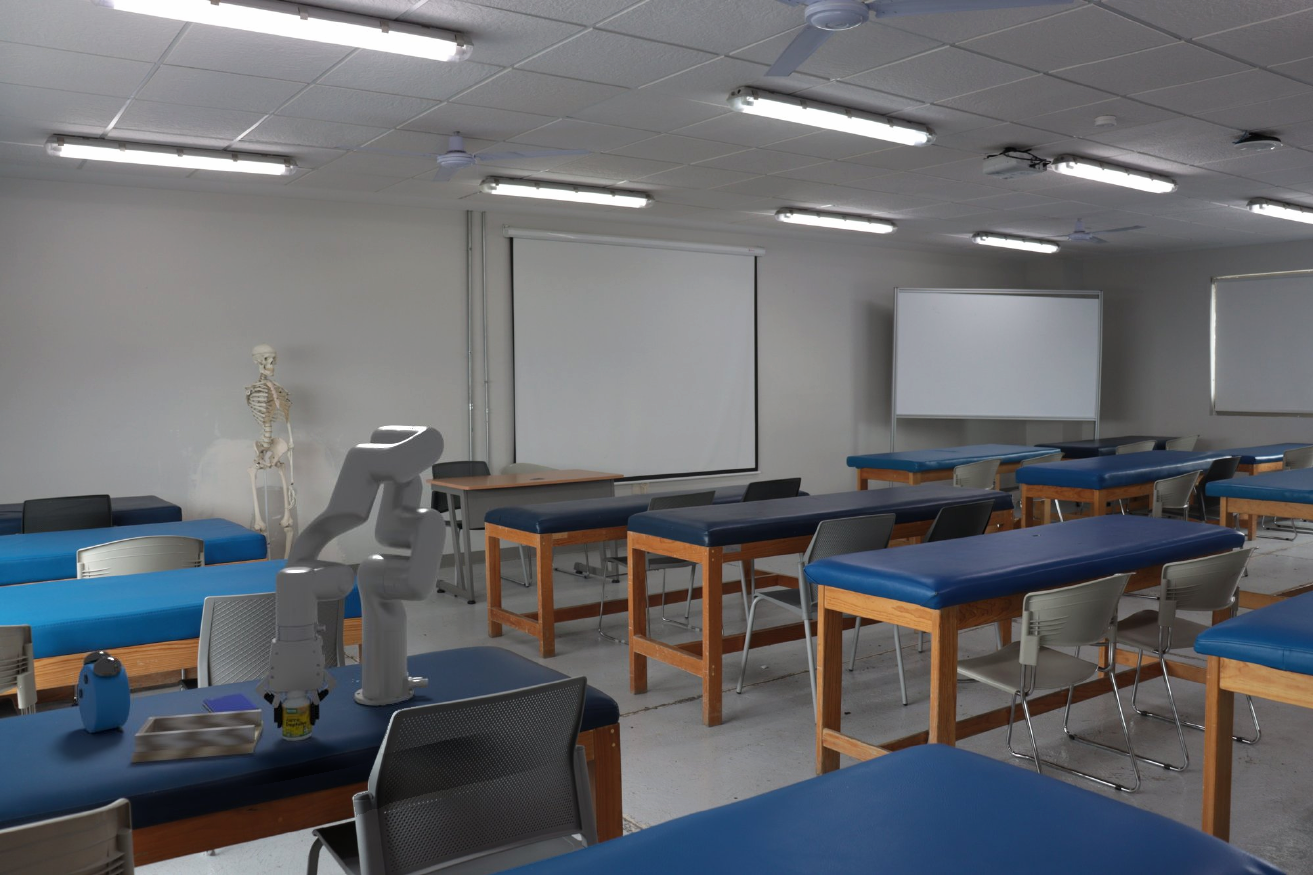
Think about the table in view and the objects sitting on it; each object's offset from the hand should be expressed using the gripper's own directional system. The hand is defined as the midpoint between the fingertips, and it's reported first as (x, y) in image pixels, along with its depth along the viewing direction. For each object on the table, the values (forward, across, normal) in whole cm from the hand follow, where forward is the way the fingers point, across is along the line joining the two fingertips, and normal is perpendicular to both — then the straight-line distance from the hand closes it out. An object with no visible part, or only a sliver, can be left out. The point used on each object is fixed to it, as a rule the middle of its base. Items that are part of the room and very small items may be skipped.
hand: (296, 723), depth 181 cm
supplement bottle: (+3, 0, 0) cm, 3 cm away
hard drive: (+3, +15, -21) cm, 26 cm away
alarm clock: (+3, +37, -13) cm, 39 cm away
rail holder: (+2, +17, 0) cm, 17 cm away
